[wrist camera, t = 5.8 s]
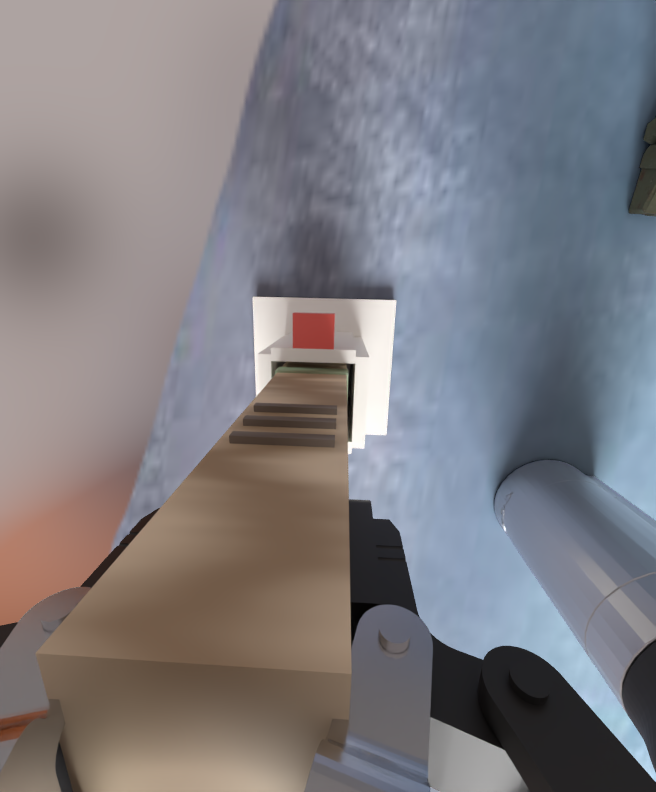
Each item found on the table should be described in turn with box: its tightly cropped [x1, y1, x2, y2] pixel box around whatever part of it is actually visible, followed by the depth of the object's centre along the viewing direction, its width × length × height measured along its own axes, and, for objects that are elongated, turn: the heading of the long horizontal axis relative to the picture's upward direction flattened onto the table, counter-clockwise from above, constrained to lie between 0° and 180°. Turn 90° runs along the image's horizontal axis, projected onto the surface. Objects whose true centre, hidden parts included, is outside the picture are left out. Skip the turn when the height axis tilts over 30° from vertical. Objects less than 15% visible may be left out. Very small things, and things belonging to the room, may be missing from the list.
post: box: [35, 361, 352, 792], centre depth 15 cm, size 4×4×22 cm
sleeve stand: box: [253, 297, 396, 454], centre depth 27 cm, size 12×12×12 cm
